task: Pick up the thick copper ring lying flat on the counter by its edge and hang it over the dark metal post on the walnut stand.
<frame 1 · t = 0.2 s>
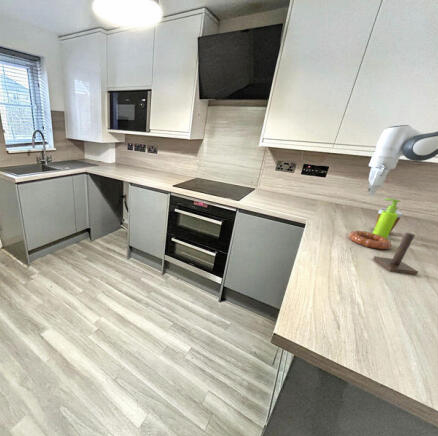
hand: (370, 193, 111), 23 cm above the worktop, tool pointing down, fingers open, 8 cm apart
ring: (369, 239, 113), point 2 cm above the worktop
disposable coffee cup: (381, 232, 129), on the worktop
soap dispenser: (377, 236, 123), on the worktop
stand: (393, 266, 93), on the worktop
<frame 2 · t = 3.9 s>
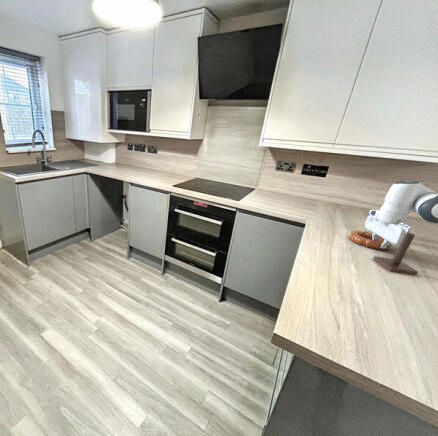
hand: (378, 245, 108), 2 cm above the worktop, tool pointing down, fingers closed on ring, 3 cm apart
ring: (369, 239, 113), point 2 cm above the worktop, touching gripper
everything else where it was.
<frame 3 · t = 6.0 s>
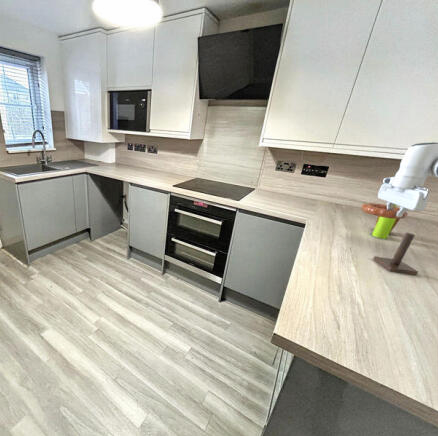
hand: (393, 214, 102), 17 cm above the worktop, tool pointing down, fingers closed on ring, 3 cm apart
ring: (383, 210, 107), point 17 cm above the worktop, touching gripper
everything else where it was.
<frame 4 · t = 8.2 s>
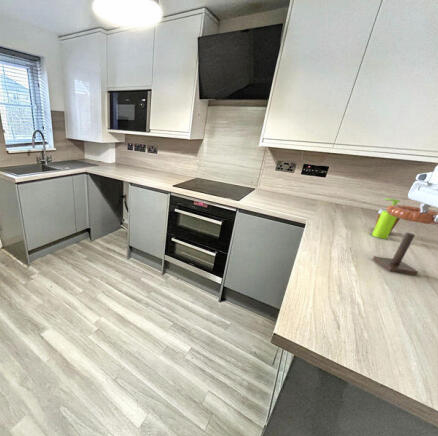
hand: (429, 218, 82), 22 cm above the worktop, tool pointing down, fingers closed on ring, 3 cm apart
ring: (414, 214, 88), point 22 cm above the worktop, touching gripper
everything else where it was.
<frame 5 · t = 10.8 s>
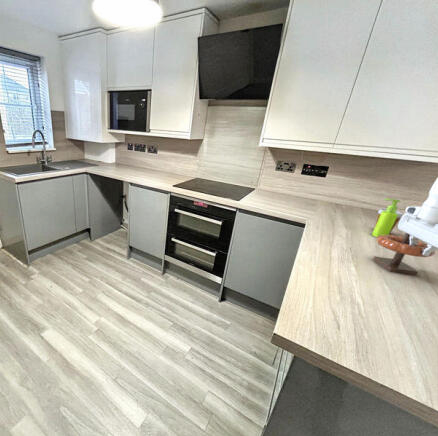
hand: (417, 251, 84), 10 cm above the worktop, tool pointing down, fingers closed on ring, 3 cm apart
ring: (404, 245, 90), point 10 cm above the worktop, touching gripper
everything else where it was.
when the fingers open (5 cm above the worktop, at t = 12.8 s): ring drops 1 cm, resting on stand.
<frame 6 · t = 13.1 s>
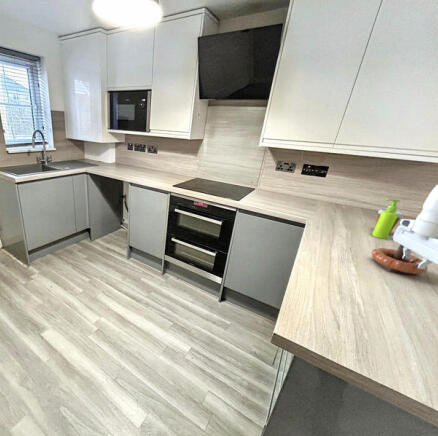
hand: (412, 263, 86), 5 cm above the worktop, tool pointing down, fingers open, 4 cm apart
ring: (397, 260, 92), point 3 cm above the worktop, touching stand
everything else where it was.
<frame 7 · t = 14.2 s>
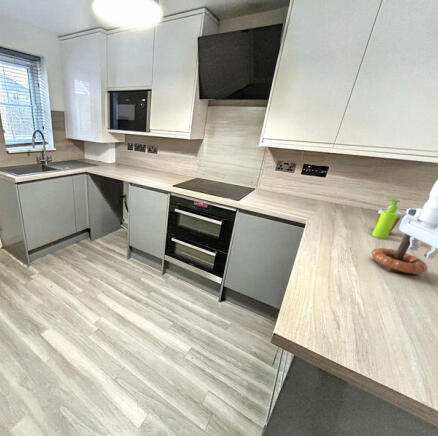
hand: (420, 253, 84), 10 cm above the worktop, tool pointing down, fingers open, 5 cm apart
nothing on the worktop moved.
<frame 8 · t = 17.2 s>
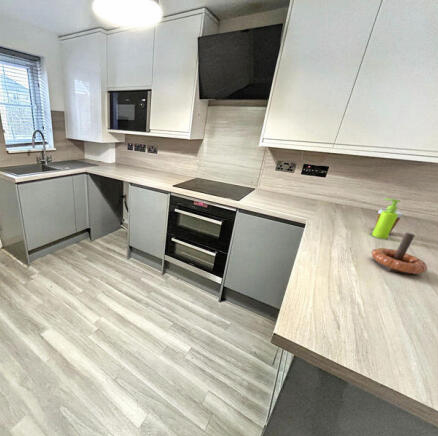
nothing on the worktop moved.
at the end: ring 0.4 cm from the stand (horizontally); ring point 3.3 cm above the worktop; the gripper is holding nothing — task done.
